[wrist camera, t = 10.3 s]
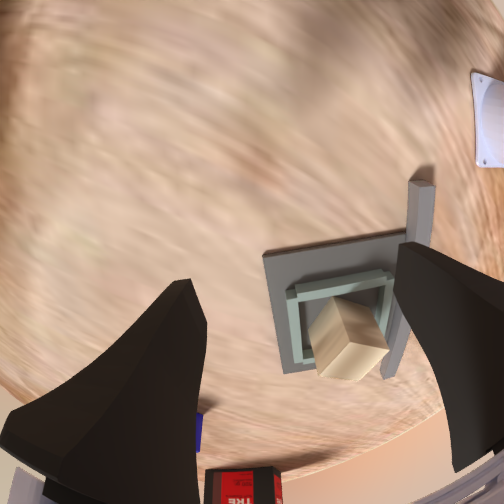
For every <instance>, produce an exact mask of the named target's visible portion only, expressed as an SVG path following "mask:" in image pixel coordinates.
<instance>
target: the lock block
mask: <svg viewBox="0 0 504 504" xmlns="http://www.w3.org/2000/svg"><path fill="white" fill-rule="evenodd" d="M308 333H309V337H310V341H311V346H312V350H313V354H314V359H315V363H316V368H317V372H318V376H320V377H327V378H335V379H342V380H351V381H359V380H360V379H361V378H362V377H363V376H365V375H366V374H367V373H368V372H369V371H370V370H371V369H372V368H373V367H374V366H375V365H376V364H377V363H378V362H379V361H380V360H381V359H382V358H383V357H384V356H385V355H386V354H387V353H388V352H389V351H390V349H389V347H388V345H387V343H386V341H385V338H384V336H383V334H382V332H381V330H380V328H379V326H378V324H377V322H376V320H375V318H374V316H373V314H372V312H371V310H370V308H369V307H366V306H363V305H360V304H357V303H354V302H351V301H348V300H345V299H341V298H338V297H335V296H332V297H331V298H330V300H329V301H328V303H327V304H326V305H325V307H324V308H323V310H322V311H321V312H320V314H319V315H318V317H317V318H316V319H315V321H314V322H313V323H312V325H311V326H310V327H309V329H308Z"/></svg>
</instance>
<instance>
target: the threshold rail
mask: <svg viewBox="0 0 504 504" xmlns="http://www.w3.org/2000/svg"><path fill="white" fill-rule="evenodd" d="M434 202H435V185H433V184H431V183H429V182H427V181H425V180H417V181H408V210H407V225H406V237H405V242H411V241H414V242H417V243H420V244H422V245H425V246H427V247H429V246H430V239H431V231H432V223H433V213H434ZM410 330H411V327H410V326H409V324H408V322H407V320H406V319H405V317H404V315H403V313H402V311H401V309H400V307H399V304H398V302H397V301H396V306H395V311H394V316H393V320H392V325H391V329H390V333H389V337H388V341H387V345H388V347H389V349H390V351H389V352H388V353H387V354H386V355H385V356H384V357H383V360H382V363H381V367H380V373H381V375H382V378H383V380H384V379H387V378H391V377H394V376H395V374H396V371H397V369H398V366H399V363H400V361H401V358H402V355H403V352H404V349H405V346H406V343H407V340H408V337H409V334H410Z"/></svg>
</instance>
